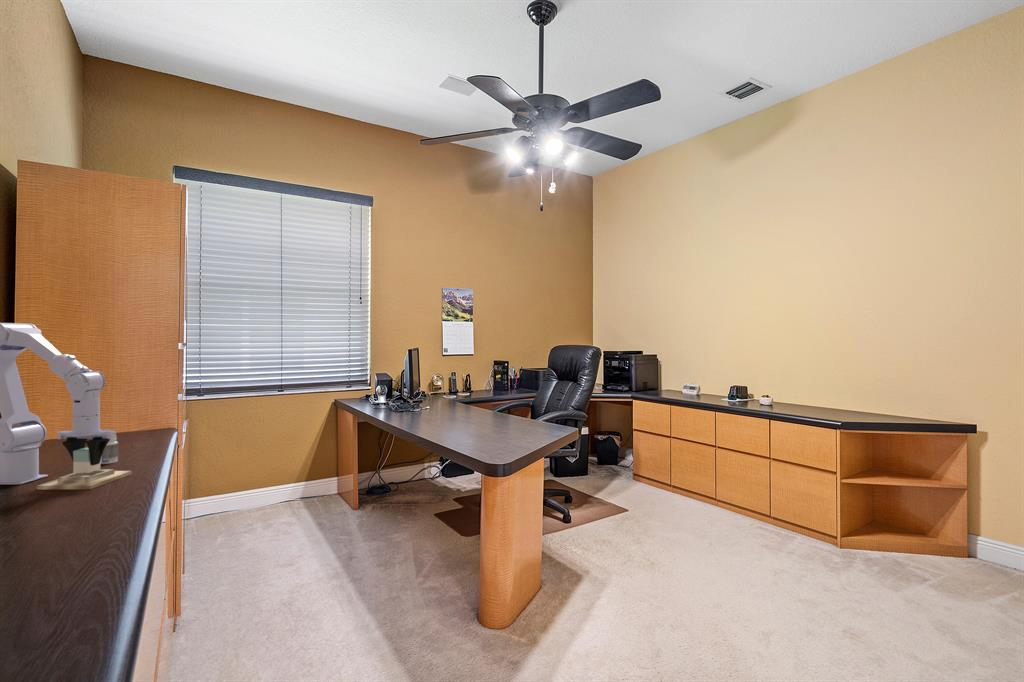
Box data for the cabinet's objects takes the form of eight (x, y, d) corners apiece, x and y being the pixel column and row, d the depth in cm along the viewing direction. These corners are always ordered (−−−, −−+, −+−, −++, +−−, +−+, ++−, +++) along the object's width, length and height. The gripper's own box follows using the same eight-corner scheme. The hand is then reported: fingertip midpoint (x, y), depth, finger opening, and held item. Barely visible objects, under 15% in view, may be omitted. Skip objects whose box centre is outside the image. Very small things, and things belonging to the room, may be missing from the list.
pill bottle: (122, 460, 157) (121, 434, 157) (108, 464, 152) (108, 437, 152) (108, 460, 157) (108, 434, 157) (94, 464, 153) (94, 437, 153)
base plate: (36, 489, 127) (36, 481, 127) (83, 474, 141) (83, 466, 141) (91, 489, 127) (90, 480, 127) (131, 474, 141) (131, 466, 141)
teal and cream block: (73, 472, 132) (73, 450, 132) (86, 468, 136) (85, 447, 136) (88, 472, 132) (88, 450, 132) (100, 468, 136) (100, 447, 136)
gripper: (46, 418, 130) (46, 468, 130) (101, 417, 130) (101, 468, 130) (69, 413, 137) (70, 461, 137) (121, 413, 137) (122, 461, 137)
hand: (86, 464), depth 134 cm, fingers closed on teal and cream block, 4 cm apart
